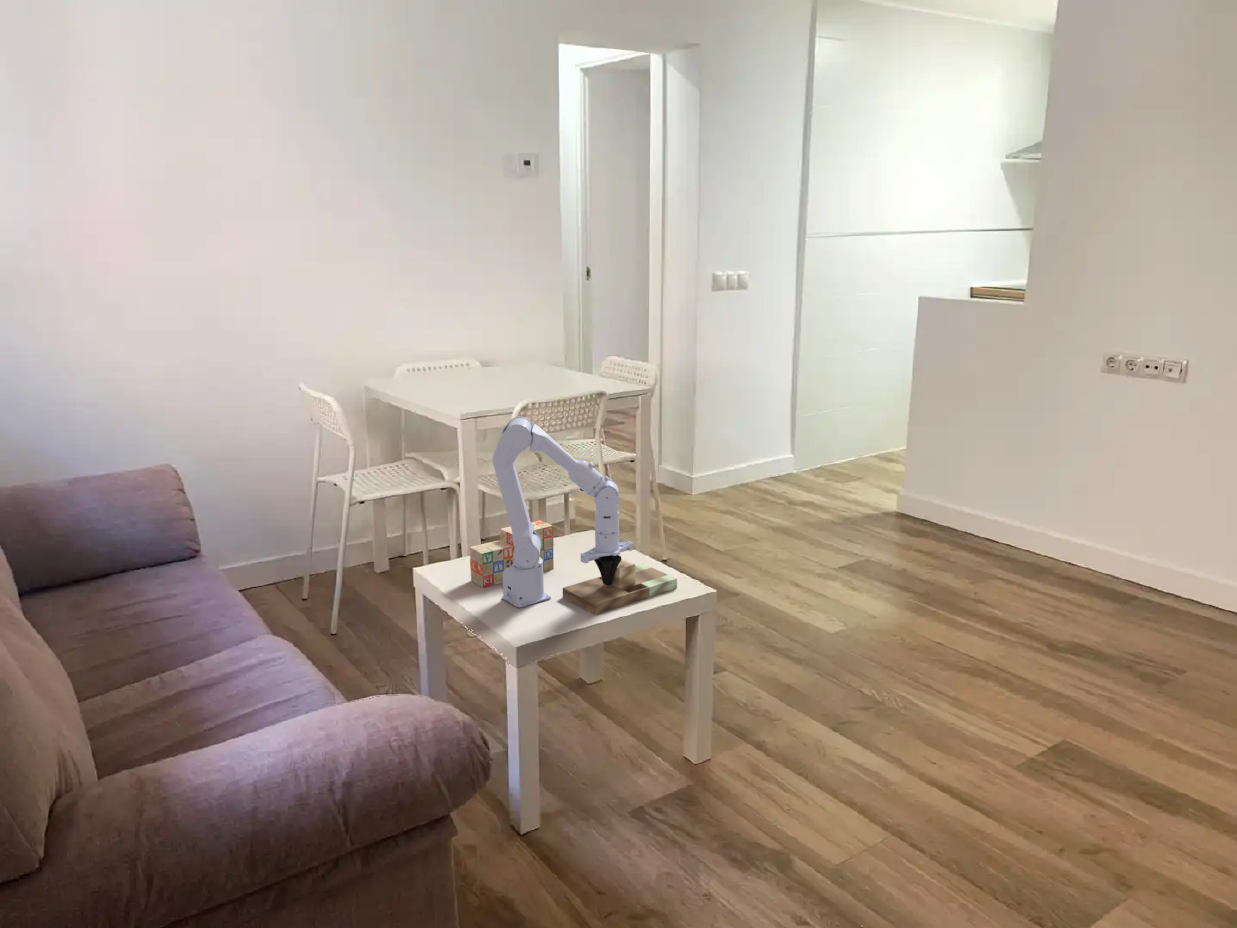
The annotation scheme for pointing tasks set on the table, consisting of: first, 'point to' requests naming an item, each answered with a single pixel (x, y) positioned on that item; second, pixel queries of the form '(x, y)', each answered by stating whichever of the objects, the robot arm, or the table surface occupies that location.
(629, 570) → the maple block
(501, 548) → the stack of blocks
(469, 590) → the table surface
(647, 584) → the trap board
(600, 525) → the robot arm
